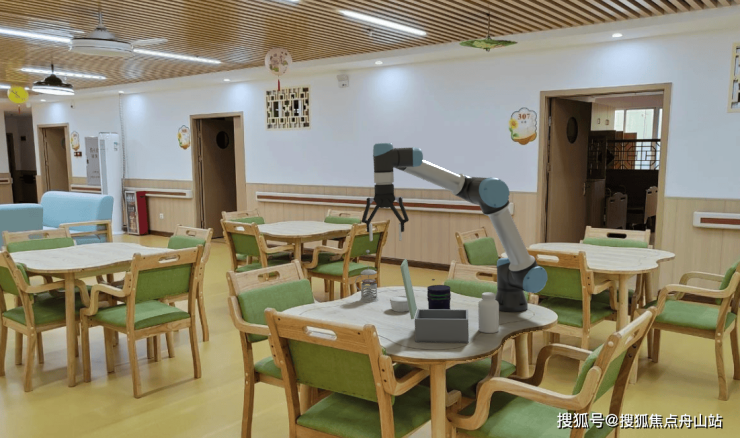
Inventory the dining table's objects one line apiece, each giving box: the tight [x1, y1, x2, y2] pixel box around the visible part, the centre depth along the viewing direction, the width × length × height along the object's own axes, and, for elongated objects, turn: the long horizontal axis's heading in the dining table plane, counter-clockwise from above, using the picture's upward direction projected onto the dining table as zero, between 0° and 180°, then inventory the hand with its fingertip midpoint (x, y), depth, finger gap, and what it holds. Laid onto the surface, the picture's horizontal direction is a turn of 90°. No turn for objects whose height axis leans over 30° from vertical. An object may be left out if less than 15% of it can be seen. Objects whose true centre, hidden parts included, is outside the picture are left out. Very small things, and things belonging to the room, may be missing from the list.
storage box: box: [414, 308, 470, 344], centre depth 227 cm, size 20×14×9 cm
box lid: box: [399, 259, 418, 320], centre depth 227 cm, size 21×15×1 cm
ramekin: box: [389, 295, 410, 313], centre depth 269 cm, size 11×11×5 cm
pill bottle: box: [477, 291, 500, 334], centre depth 232 cm, size 8×8×15 cm
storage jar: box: [426, 278, 452, 309], centre depth 246 cm, size 10×10×18 cm
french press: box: [354, 249, 380, 303], centre depth 288 cm, size 10×12×25 cm
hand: (385, 240), depth 227 cm, fingers open, 11 cm apart
